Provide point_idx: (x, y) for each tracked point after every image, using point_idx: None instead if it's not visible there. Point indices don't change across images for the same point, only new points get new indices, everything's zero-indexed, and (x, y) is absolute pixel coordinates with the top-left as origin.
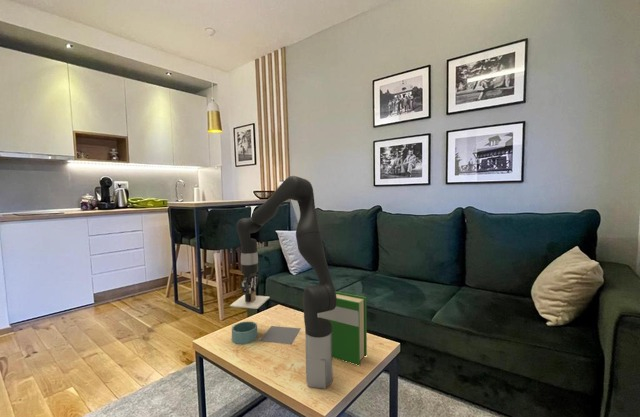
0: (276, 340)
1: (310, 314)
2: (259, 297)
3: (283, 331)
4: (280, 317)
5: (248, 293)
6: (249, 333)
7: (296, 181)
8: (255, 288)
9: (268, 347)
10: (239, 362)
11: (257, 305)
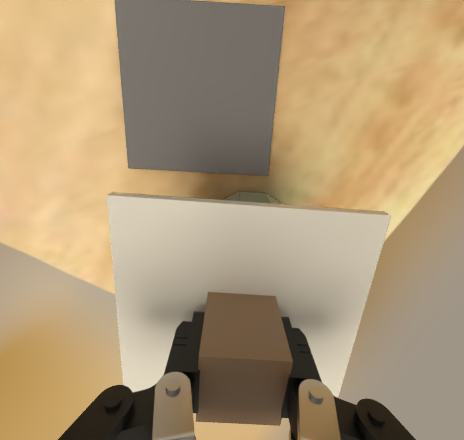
0: (256, 99)
1: None
2: (152, 279)
3: (168, 90)
4: (25, 155)
5: (326, 395)
6: None
7: None
8: (168, 384)
9: (307, 120)
10: (408, 193)
11: (343, 232)
